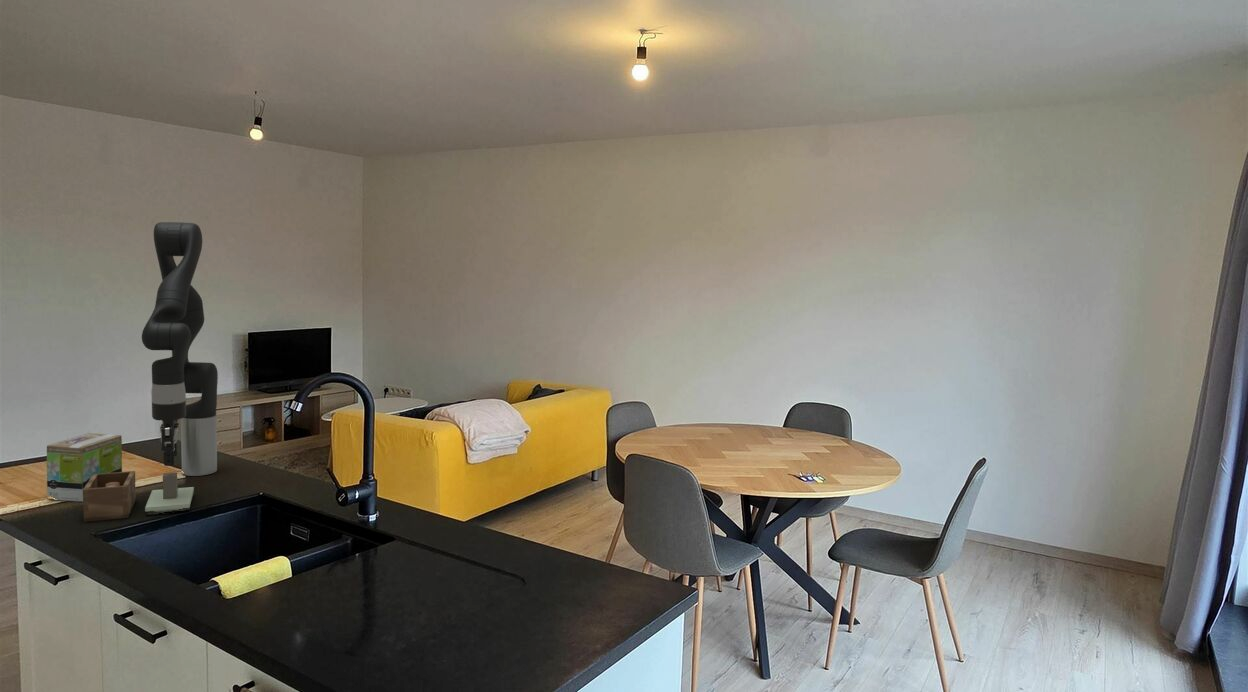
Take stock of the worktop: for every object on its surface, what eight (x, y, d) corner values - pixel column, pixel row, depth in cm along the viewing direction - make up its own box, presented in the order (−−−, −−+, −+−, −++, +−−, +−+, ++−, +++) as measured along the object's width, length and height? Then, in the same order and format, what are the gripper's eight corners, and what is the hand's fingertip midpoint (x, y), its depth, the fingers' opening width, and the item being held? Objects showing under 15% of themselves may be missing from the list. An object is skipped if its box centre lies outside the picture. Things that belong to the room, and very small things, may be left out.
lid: (152, 497, 199) (151, 468, 198) (193, 494, 204) (193, 465, 203) (145, 515, 186) (144, 484, 185) (189, 511, 191) (189, 481, 190)
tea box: (84, 502, 194) (82, 447, 192) (46, 500, 194) (43, 445, 192) (124, 485, 209) (122, 433, 207) (88, 483, 209) (86, 431, 207)
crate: (94, 503, 193) (93, 473, 192) (135, 500, 197) (134, 470, 196) (83, 521, 181) (82, 490, 180) (128, 517, 185) (127, 486, 184)
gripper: (183, 405, 187) (185, 467, 189) (187, 393, 200) (189, 452, 202) (148, 406, 184) (150, 470, 186) (154, 394, 196) (156, 454, 198)
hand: (170, 460), depth 194 cm, fingers open, 8 cm apart
